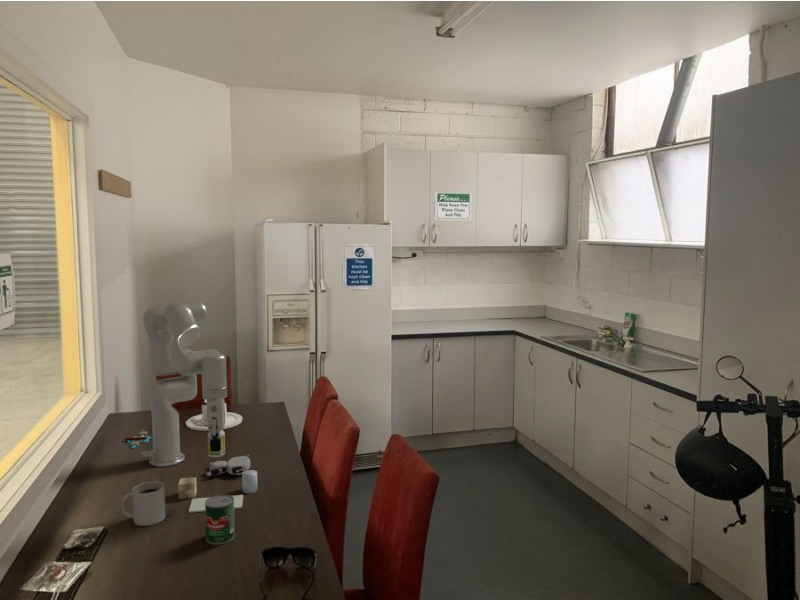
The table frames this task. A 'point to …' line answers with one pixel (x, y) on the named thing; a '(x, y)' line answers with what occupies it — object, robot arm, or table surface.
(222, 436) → the supplement bottle
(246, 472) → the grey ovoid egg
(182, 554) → the table surface
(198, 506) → the sage mat
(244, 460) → the robot toy
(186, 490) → the birch block
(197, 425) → the dish
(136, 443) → the gear mechanism
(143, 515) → the mug
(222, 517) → the canned tomato
